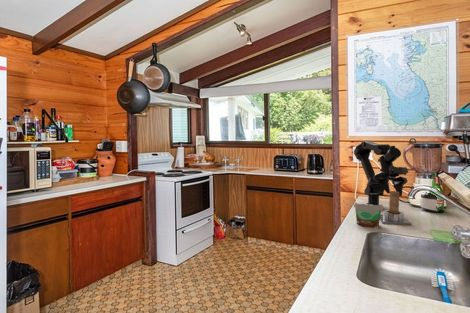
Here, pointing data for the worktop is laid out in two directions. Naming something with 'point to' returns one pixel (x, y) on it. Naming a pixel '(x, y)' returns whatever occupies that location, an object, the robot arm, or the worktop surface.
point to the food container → (368, 214)
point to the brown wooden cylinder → (394, 202)
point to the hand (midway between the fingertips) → (394, 194)
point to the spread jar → (428, 202)
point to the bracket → (394, 218)
